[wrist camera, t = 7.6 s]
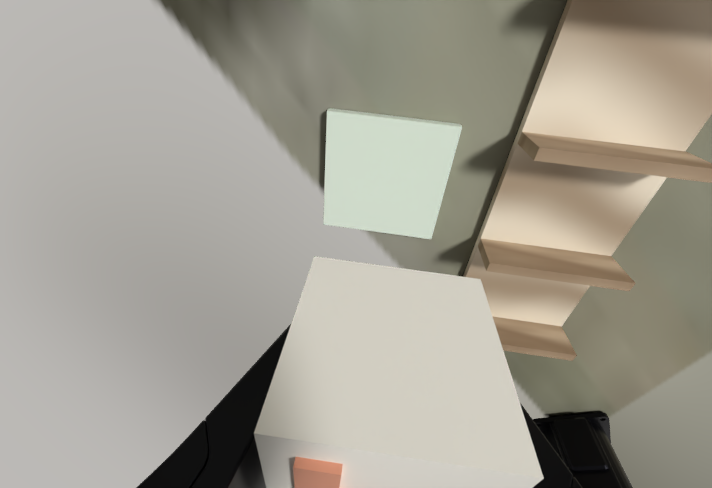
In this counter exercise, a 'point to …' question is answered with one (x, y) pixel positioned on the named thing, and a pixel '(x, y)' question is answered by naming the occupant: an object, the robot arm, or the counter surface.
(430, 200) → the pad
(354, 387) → the letter cube
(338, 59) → the counter surface
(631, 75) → the slot rack
